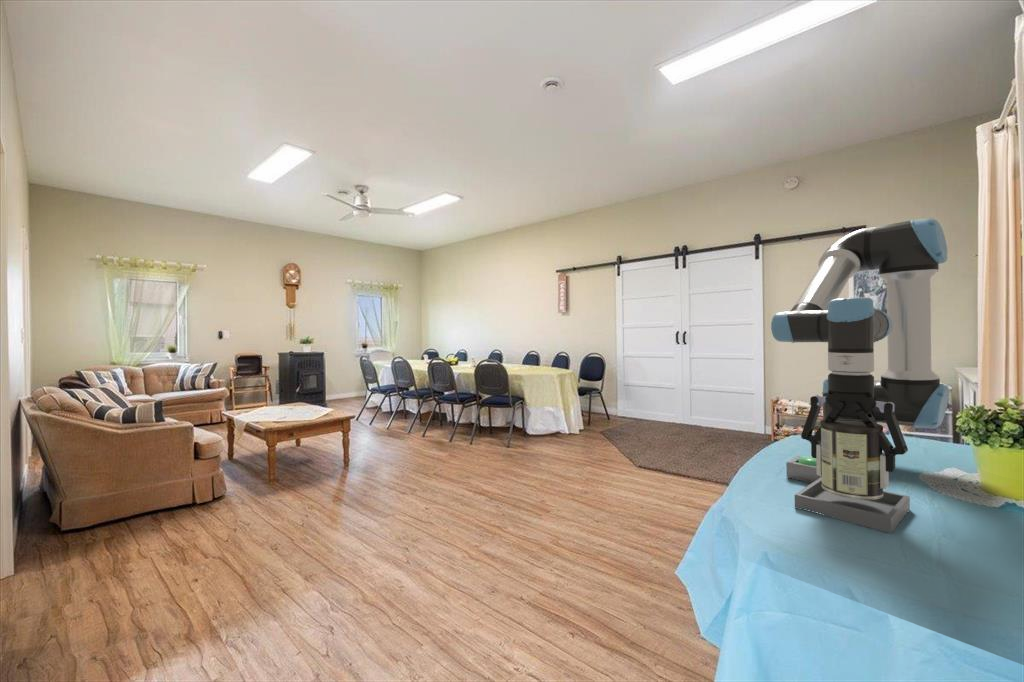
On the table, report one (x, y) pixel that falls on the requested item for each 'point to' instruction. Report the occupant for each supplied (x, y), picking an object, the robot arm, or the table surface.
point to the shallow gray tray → (855, 507)
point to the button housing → (801, 471)
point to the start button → (808, 460)
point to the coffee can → (851, 459)
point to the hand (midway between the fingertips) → (851, 480)
